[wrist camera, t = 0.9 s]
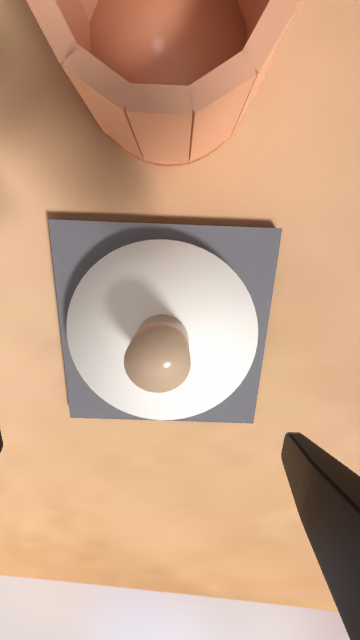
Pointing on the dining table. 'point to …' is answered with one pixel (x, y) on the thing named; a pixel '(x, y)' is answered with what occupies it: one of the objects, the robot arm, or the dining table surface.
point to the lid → (162, 329)
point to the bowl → (165, 66)
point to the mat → (223, 241)
